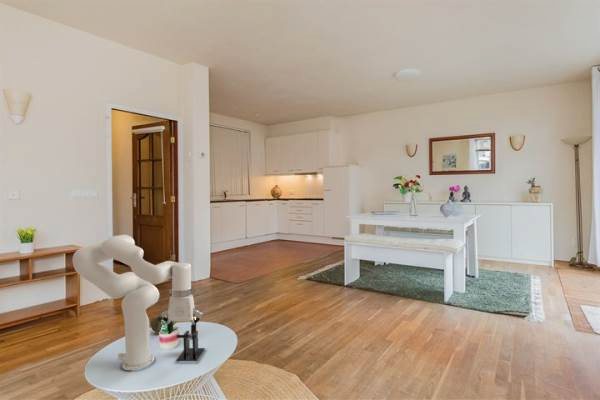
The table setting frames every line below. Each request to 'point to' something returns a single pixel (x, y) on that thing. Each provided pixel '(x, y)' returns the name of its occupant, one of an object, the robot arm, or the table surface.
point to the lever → (185, 336)
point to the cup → (156, 324)
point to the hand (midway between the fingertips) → (181, 332)
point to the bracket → (191, 349)
